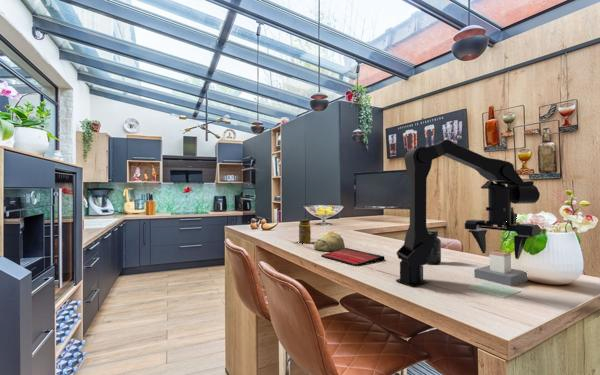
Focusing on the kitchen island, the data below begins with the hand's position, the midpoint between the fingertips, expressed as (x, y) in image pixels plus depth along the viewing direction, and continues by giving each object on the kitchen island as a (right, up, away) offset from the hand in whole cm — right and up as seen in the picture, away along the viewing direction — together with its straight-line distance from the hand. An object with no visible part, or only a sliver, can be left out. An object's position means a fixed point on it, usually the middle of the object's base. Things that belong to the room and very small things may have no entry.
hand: (499, 255), depth 92 cm
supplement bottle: (-11, -8, +22) cm, 26 cm away
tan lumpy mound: (-46, -8, +49) cm, 68 cm away
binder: (-40, -9, +31) cm, 51 cm away
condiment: (-58, -8, +67) cm, 89 cm away
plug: (0, -7, 0) cm, 7 cm away
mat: (-8, -7, -10) cm, 15 cm away
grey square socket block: (0, -7, 0) cm, 7 cm away
